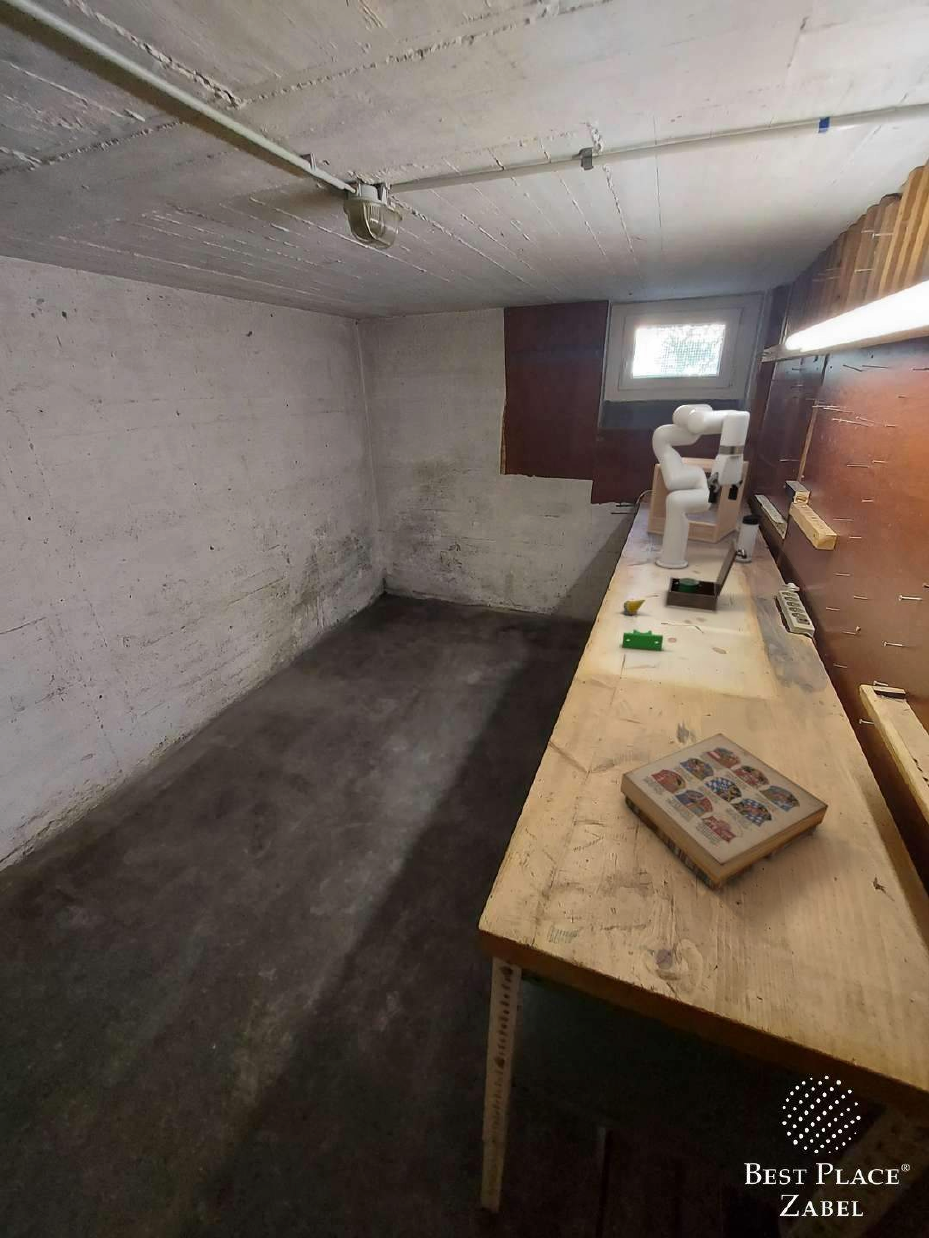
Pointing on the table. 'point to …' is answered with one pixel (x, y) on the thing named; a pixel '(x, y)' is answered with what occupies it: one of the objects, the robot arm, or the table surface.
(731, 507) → the storage cube
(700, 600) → the chest
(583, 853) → the table surface
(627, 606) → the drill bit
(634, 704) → the table surface
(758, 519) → the travel mug
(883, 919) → the table surface
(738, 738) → the table surface
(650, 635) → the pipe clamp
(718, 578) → the chest lid
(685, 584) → the pot
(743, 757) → the beige printed box
